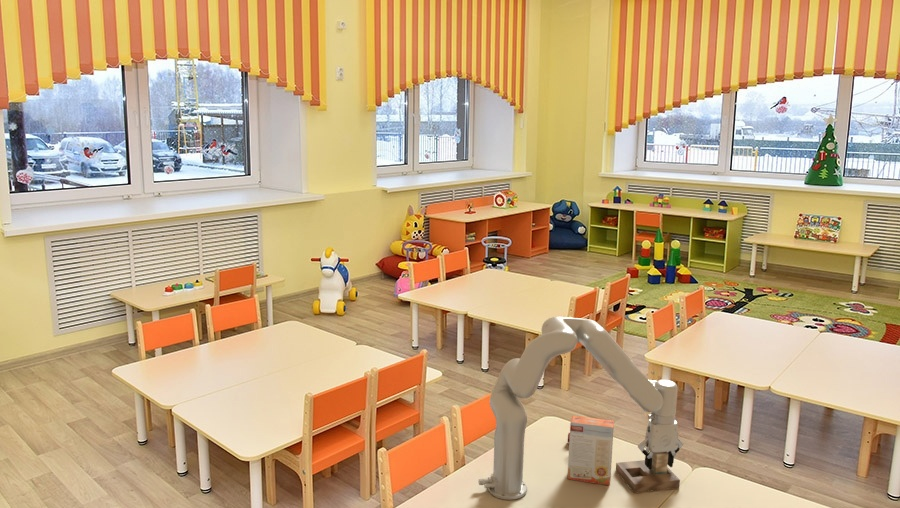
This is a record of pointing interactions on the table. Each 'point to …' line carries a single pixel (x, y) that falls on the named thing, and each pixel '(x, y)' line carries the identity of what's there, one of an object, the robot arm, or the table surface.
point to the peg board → (645, 477)
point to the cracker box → (590, 450)
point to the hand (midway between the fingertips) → (658, 465)
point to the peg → (659, 463)
